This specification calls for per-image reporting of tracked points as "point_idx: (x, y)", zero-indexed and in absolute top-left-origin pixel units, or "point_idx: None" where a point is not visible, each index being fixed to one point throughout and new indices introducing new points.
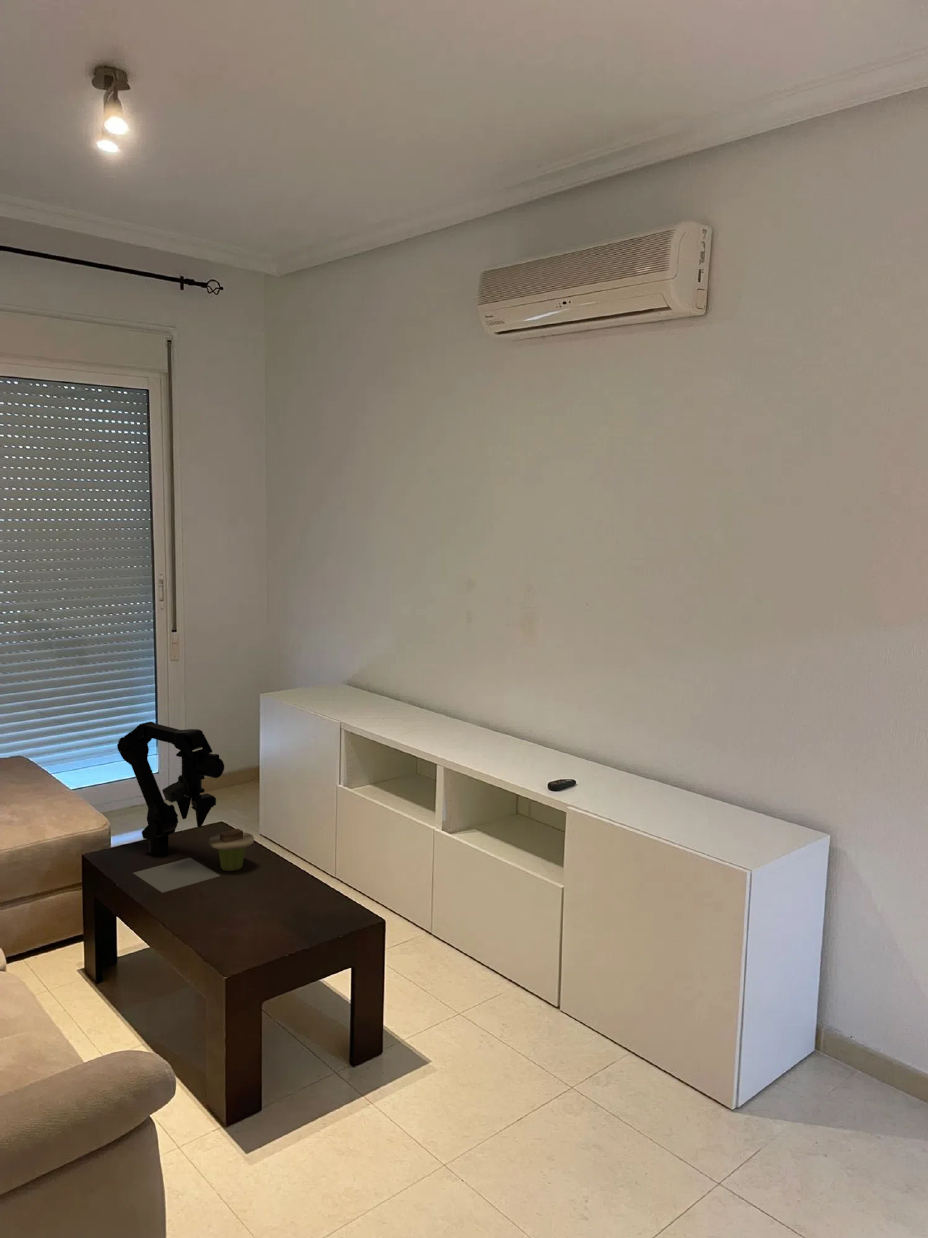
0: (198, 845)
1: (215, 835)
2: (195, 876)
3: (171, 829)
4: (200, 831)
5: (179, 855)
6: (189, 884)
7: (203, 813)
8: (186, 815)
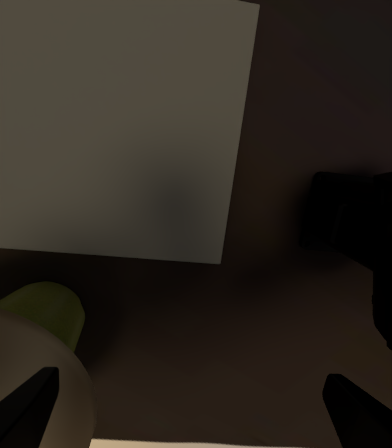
0: (304, 344)
1: (77, 396)
2: (37, 174)
3: (373, 286)
4: (384, 399)
5: (286, 261)
6: None
7: None
8: (338, 427)
